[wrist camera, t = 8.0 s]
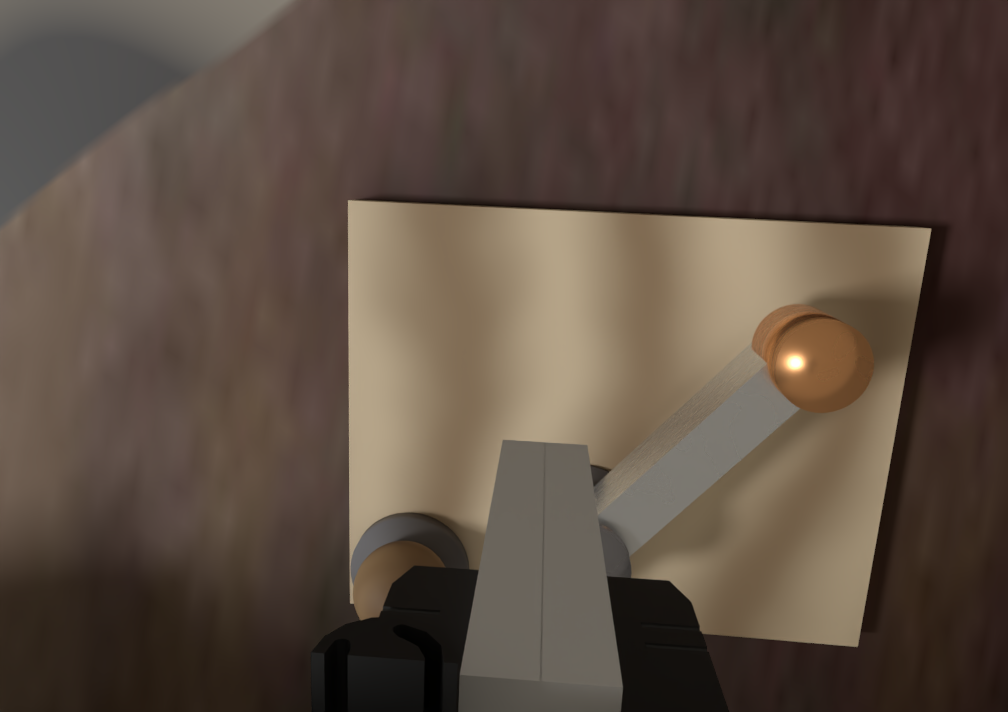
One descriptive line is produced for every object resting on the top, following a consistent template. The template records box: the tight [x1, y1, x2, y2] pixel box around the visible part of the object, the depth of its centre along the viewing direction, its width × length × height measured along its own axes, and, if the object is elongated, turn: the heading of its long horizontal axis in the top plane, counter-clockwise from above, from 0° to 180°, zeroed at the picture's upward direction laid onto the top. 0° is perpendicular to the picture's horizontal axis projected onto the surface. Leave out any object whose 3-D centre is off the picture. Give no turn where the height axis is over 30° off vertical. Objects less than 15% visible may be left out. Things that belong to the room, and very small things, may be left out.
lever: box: [594, 303, 874, 578], centre depth 25 cm, size 3×16×4 cm, turn 136°
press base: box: [348, 200, 931, 647], centre depth 27 cm, size 20×16×5 cm
